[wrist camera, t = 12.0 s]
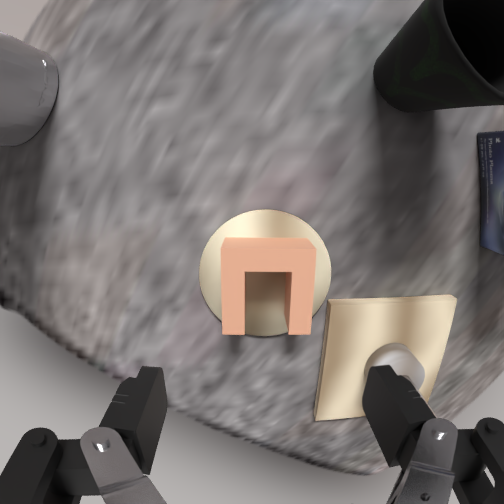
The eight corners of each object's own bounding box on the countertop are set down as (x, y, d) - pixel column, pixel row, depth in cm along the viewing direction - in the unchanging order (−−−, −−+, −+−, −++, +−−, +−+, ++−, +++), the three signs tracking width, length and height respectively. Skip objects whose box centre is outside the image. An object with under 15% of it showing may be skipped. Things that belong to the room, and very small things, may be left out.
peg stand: (313, 412, 28) (334, 504, 17) (327, 299, 25) (373, 381, 14) (421, 399, 28) (467, 470, 17) (450, 294, 25) (527, 351, 14)
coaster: (202, 332, 26) (202, 334, 25) (198, 209, 24) (197, 209, 23) (324, 332, 26) (325, 334, 26) (333, 210, 24) (335, 211, 23)
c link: (225, 237, 24) (220, 248, 20) (307, 238, 24) (316, 249, 20) (226, 313, 25) (222, 334, 22) (303, 313, 25) (310, 334, 22)
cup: (438, 137, 22) (544, 126, 10) (355, 110, 22) (438, 65, 10) (444, 57, 20) (533, 15, 9) (364, 26, 20) (431, -50, 8)
